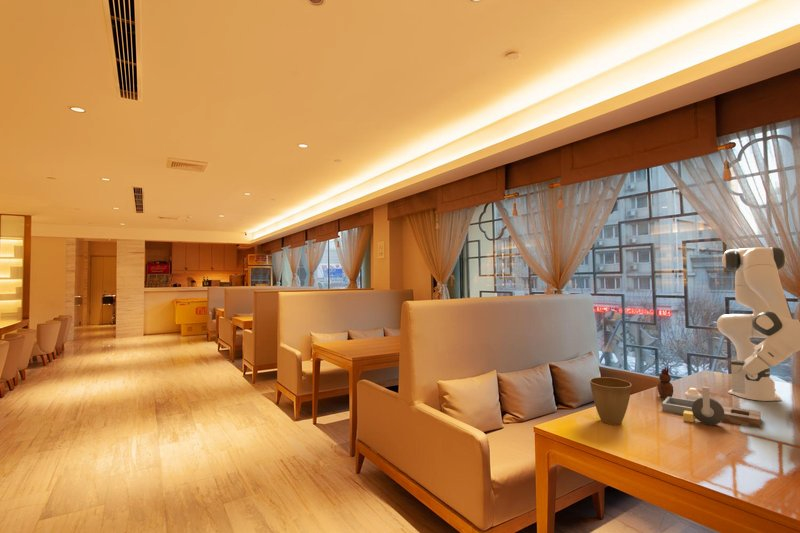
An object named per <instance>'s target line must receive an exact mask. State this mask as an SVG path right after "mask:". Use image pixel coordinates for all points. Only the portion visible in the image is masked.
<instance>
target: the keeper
mask: <svg viewBox="0 0 800 533" xmlns="http://www.w3.org/2000/svg"><path fill="white" fill-rule="evenodd" d="M722 407H723V409H724V417H723V420H722V421H721V422H726V423H729V424H731V423H732V424H737V425H742V426H748V427H754V428H761V421H762V420H761V418H762V417H761V411H759V410H758V411H757V410H753V409H752V410H751V409H744V408H739V407H733V406H729V405H728V406H726V405H722Z"/></svg>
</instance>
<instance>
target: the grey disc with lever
mask: <svg viewBox="0 0 800 533" xmlns="http://www.w3.org/2000/svg"><path fill="white" fill-rule="evenodd" d="M701 390H702V392H701V393H702V396H701V398H698V399H697V400H695V402H694V403H693V405H692V412H691V411H684V412H683V414H682V415H683V416H682V418H683V420H682V421H685V422H688V423H689V422H690V423H694V422H695V420H698V421H699V422H700V423H702V424H704V425H710V426H714V425H718V424H720V423H721V422H723V421H722V420H723V417H724V409H723V407H722V406H723V405H722V404H721V403H720V402H719V401H718V400H716V399H714V398H712V397H711V396H710V387H709V386H702V388H701Z"/></svg>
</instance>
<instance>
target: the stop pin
mask: <svg viewBox="0 0 800 533" xmlns="http://www.w3.org/2000/svg"><path fill="white" fill-rule="evenodd" d="M730 362H731V363H730V364H731V365H730V366H731V369H730V370H731V389H732V392H737V393H744V394H745V393H746V381H745V375H744V376H742V377H740V378H736V377H735V376H734V375H735V374H736V373H737V372H739V371H740V370H741V369H742V367H743V365H744V363H745V361H740V360H737V359H731V360H730Z"/></svg>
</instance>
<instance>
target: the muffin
mask: <svg viewBox="0 0 800 533" xmlns="http://www.w3.org/2000/svg"><path fill="white" fill-rule="evenodd" d="M684 396H685V399H687V400H694V401H695V400H697V399H698V398H701V397H702V394H700V392H699V391H698V389H697V388H695V387H690V388H689V387H688V389H687V391H686V392H684Z"/></svg>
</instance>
